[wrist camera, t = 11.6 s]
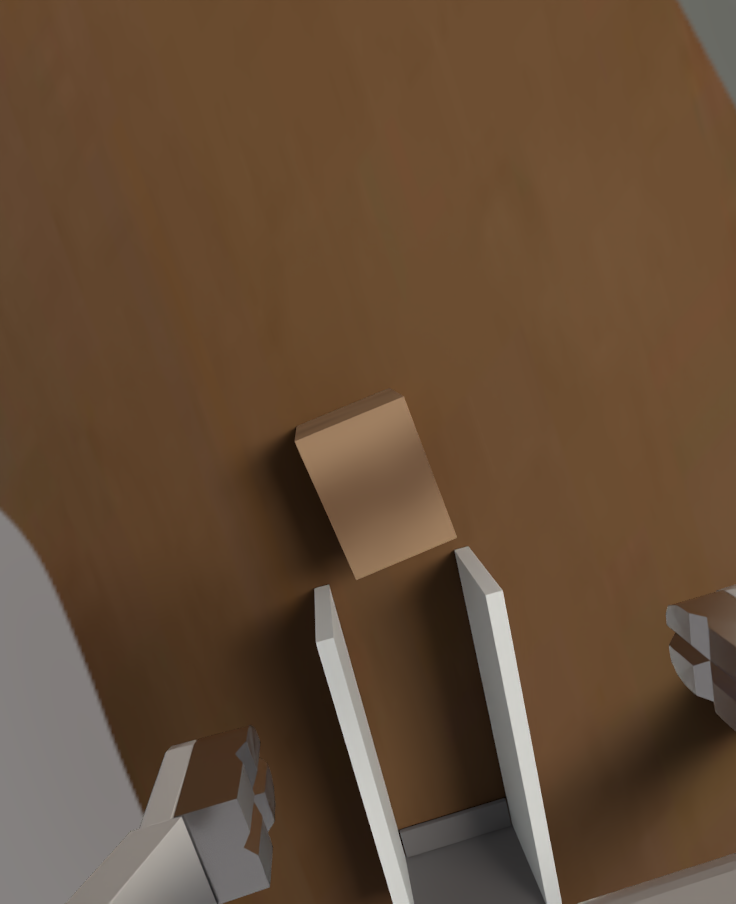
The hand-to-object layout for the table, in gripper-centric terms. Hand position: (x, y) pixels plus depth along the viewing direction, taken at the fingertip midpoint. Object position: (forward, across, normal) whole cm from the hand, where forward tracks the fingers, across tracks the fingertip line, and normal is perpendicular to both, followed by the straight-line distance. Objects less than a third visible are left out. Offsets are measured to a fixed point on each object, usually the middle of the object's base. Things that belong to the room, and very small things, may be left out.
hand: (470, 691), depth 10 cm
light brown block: (+17, 0, 0) cm, 17 cm away
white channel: (+17, 0, +16) cm, 23 cm away
